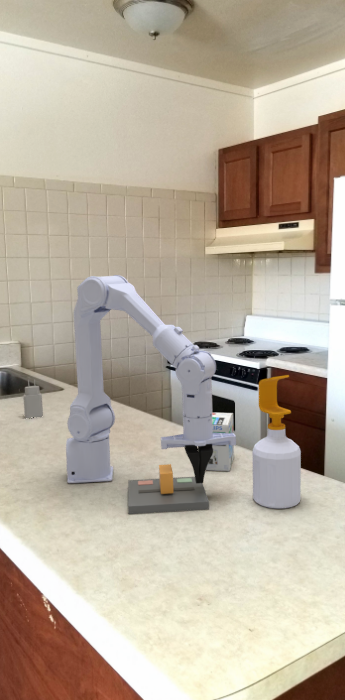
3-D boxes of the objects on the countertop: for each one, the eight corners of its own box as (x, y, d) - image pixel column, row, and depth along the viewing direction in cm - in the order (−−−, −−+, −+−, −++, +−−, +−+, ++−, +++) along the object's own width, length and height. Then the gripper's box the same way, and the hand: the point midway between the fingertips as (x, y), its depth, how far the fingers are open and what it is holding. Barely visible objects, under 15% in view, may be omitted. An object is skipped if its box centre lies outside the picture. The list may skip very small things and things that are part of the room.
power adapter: (24, 416, 176) (21, 379, 174) (42, 414, 178) (39, 377, 176) (25, 419, 173) (23, 380, 171) (43, 417, 175) (41, 379, 173)
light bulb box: (230, 472, 124) (229, 424, 122) (199, 470, 125) (198, 423, 124) (234, 456, 134) (233, 412, 133) (206, 455, 135) (205, 411, 134)
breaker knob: (161, 493, 108) (160, 473, 107) (159, 484, 113) (159, 464, 112) (173, 493, 108) (172, 473, 108) (171, 483, 113) (170, 464, 113)
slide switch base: (128, 514, 104) (128, 505, 104) (128, 487, 117) (128, 479, 117) (209, 509, 105) (208, 501, 105) (200, 483, 118) (200, 475, 118)
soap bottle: (272, 513, 102) (272, 381, 99) (243, 496, 110) (242, 373, 107) (310, 503, 106) (311, 375, 103) (280, 487, 114) (280, 368, 111)
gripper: (161, 421, 104) (163, 491, 106) (238, 418, 106) (239, 487, 107) (159, 412, 111) (161, 477, 113) (231, 408, 112) (232, 473, 114)
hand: (199, 481), depth 111 cm, fingers closed
